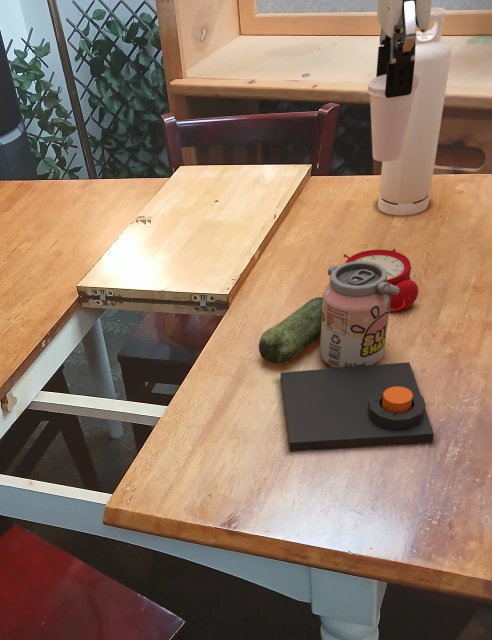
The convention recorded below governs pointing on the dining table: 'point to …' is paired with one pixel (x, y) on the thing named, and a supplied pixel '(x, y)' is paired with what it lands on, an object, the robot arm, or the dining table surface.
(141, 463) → the dining table surface
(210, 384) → the dining table surface
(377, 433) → the grey button plate
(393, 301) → the alarm clock
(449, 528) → the dining table surface
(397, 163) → the bottle
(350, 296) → the beverage can
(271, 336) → the vegetable
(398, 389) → the button
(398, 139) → the smoothie
